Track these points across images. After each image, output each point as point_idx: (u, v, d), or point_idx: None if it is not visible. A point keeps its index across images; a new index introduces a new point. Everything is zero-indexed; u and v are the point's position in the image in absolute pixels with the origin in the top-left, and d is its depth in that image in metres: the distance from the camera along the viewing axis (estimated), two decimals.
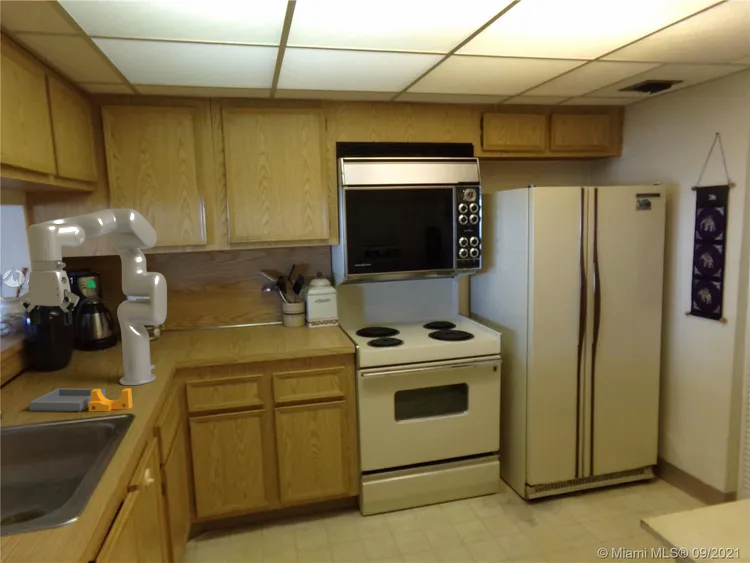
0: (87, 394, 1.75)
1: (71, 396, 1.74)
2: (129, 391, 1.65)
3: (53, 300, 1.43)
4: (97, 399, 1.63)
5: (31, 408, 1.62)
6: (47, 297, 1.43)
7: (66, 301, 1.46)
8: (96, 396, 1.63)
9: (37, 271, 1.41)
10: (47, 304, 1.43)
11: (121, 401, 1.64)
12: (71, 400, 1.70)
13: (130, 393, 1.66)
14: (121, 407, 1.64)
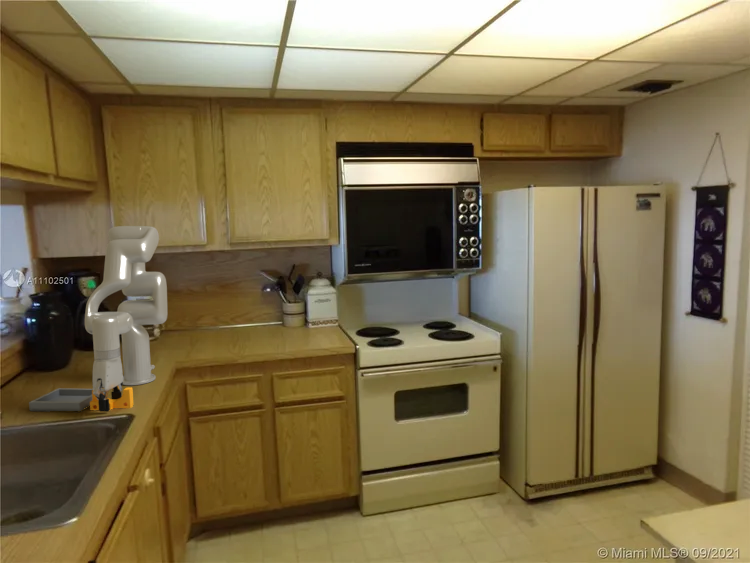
0: (87, 394, 1.75)
1: (71, 396, 1.74)
2: (131, 390, 1.66)
3: (120, 379, 1.66)
4: None
5: (31, 408, 1.62)
6: (117, 378, 1.64)
7: None
8: None
9: (118, 357, 1.62)
10: (116, 385, 1.64)
11: (122, 400, 1.65)
12: (71, 400, 1.70)
13: (132, 392, 1.67)
14: (122, 406, 1.65)
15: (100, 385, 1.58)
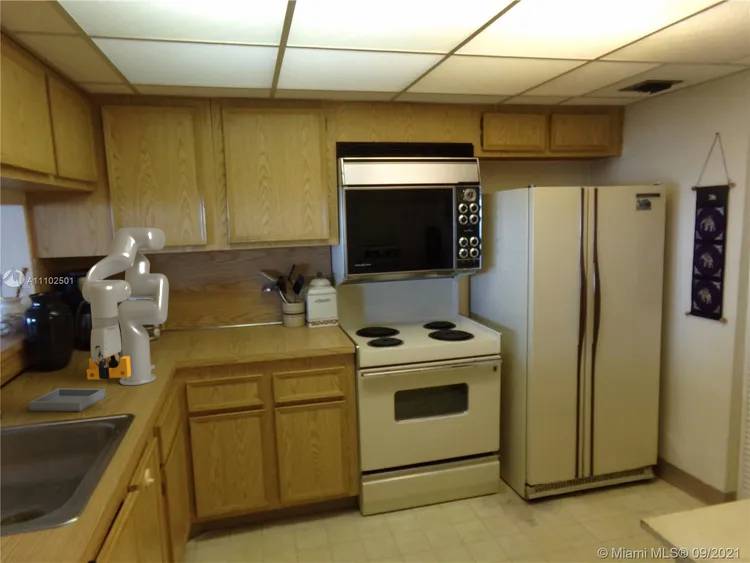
0: (87, 394, 1.75)
1: (71, 396, 1.74)
2: (128, 359, 1.64)
3: (118, 348, 1.65)
4: (96, 366, 1.63)
5: (31, 408, 1.62)
6: (116, 346, 1.63)
7: None
8: None
9: (116, 325, 1.61)
10: (114, 353, 1.63)
11: (119, 368, 1.63)
12: (71, 400, 1.70)
13: (129, 361, 1.65)
14: (120, 375, 1.63)
15: (99, 353, 1.57)
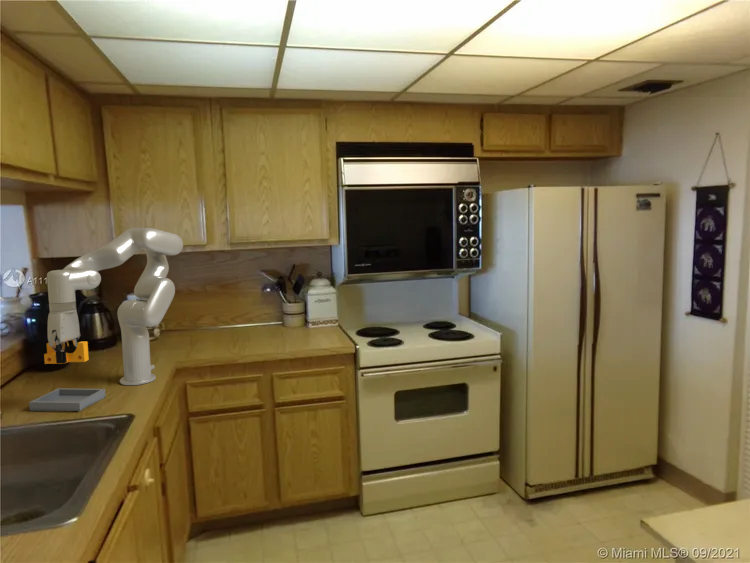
0: (87, 394, 1.75)
1: (71, 396, 1.74)
2: (85, 344, 1.68)
3: (76, 333, 1.69)
4: (53, 351, 1.66)
5: (31, 408, 1.62)
6: (73, 332, 1.67)
7: None
8: (52, 348, 1.66)
9: (73, 310, 1.65)
10: (72, 338, 1.67)
11: (76, 353, 1.67)
12: (71, 400, 1.70)
13: (87, 346, 1.69)
14: (77, 359, 1.67)
15: (56, 337, 1.61)
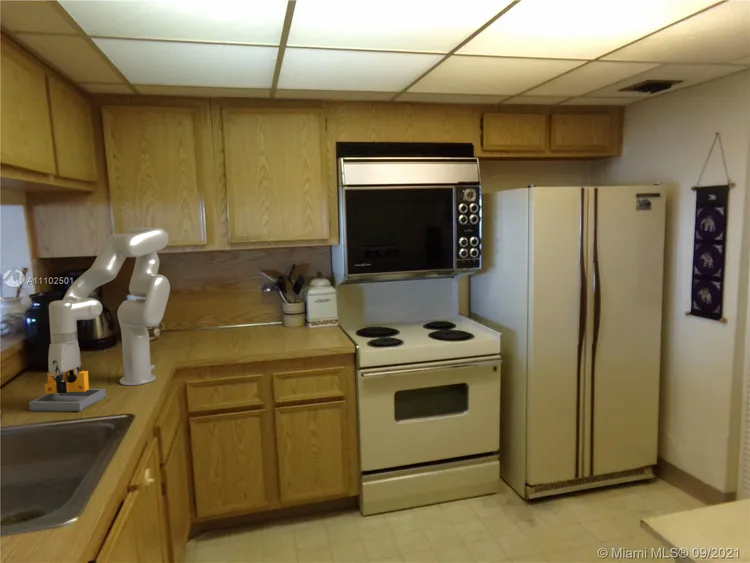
0: (87, 394, 1.75)
1: (71, 396, 1.74)
2: (86, 374, 1.69)
3: (77, 363, 1.70)
4: (54, 381, 1.67)
5: (31, 408, 1.62)
6: (74, 361, 1.68)
7: None
8: None
9: (74, 340, 1.66)
10: (73, 368, 1.68)
11: (77, 383, 1.68)
12: (71, 400, 1.70)
13: (87, 376, 1.70)
14: (77, 389, 1.68)
15: (56, 368, 1.62)
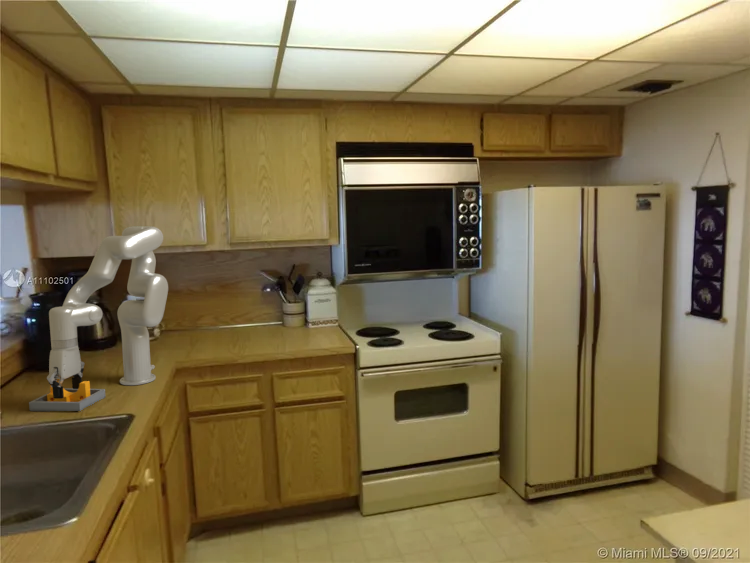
0: None
1: None
2: (87, 384, 1.69)
3: (78, 369, 1.70)
4: None
5: (31, 408, 1.62)
6: (75, 367, 1.69)
7: None
8: None
9: (75, 346, 1.66)
10: (73, 374, 1.68)
11: (78, 393, 1.68)
12: None
13: (89, 386, 1.70)
14: (79, 399, 1.69)
15: (55, 372, 1.62)
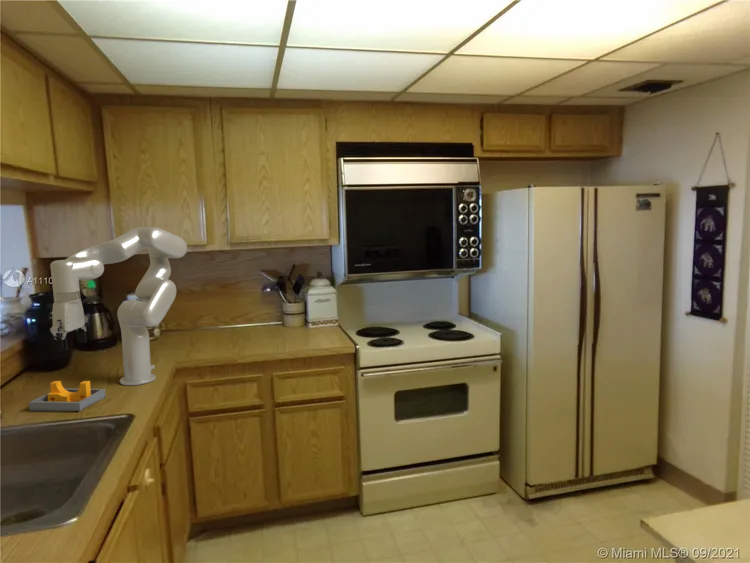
0: None
1: None
2: (88, 384, 1.70)
3: (81, 323, 1.70)
4: (56, 391, 1.68)
5: (31, 408, 1.62)
6: (78, 321, 1.68)
7: None
8: (56, 388, 1.68)
9: (77, 300, 1.66)
10: (77, 327, 1.68)
11: (79, 393, 1.68)
12: None
13: (89, 386, 1.70)
14: (79, 399, 1.69)
15: (58, 324, 1.61)
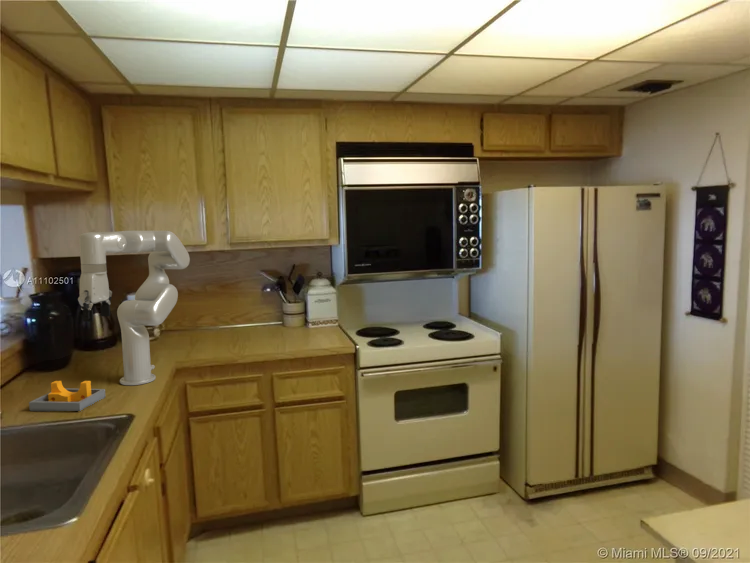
0: None
1: None
2: (88, 384, 1.70)
3: (106, 295, 1.73)
4: (57, 391, 1.69)
5: (31, 408, 1.62)
6: (104, 294, 1.71)
7: None
8: (56, 388, 1.68)
9: (104, 272, 1.69)
10: (102, 300, 1.71)
11: (79, 393, 1.69)
12: None
13: (90, 385, 1.71)
14: (80, 399, 1.69)
15: (86, 295, 1.64)
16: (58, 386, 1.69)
